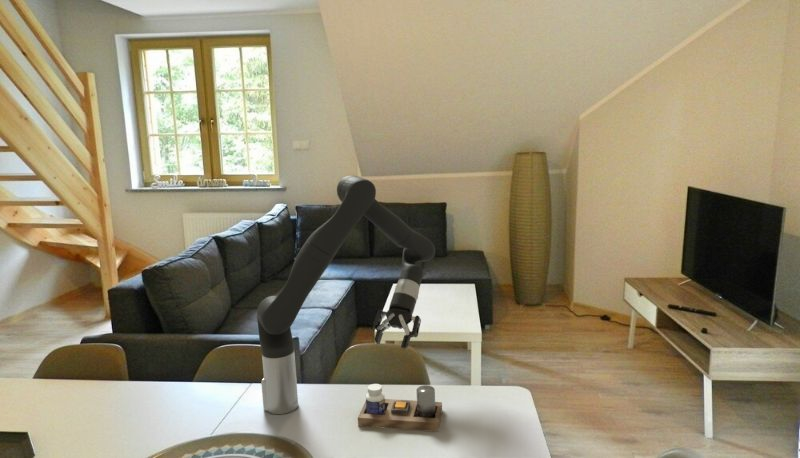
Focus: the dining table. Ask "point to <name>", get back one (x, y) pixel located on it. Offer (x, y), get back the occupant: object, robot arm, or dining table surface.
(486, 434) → the dining table surface
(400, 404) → the button
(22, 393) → the dining table surface
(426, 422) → the wooden compartment tray
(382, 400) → the pill bottle
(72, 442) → the dining table surface
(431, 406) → the cylinder
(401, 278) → the robot arm
